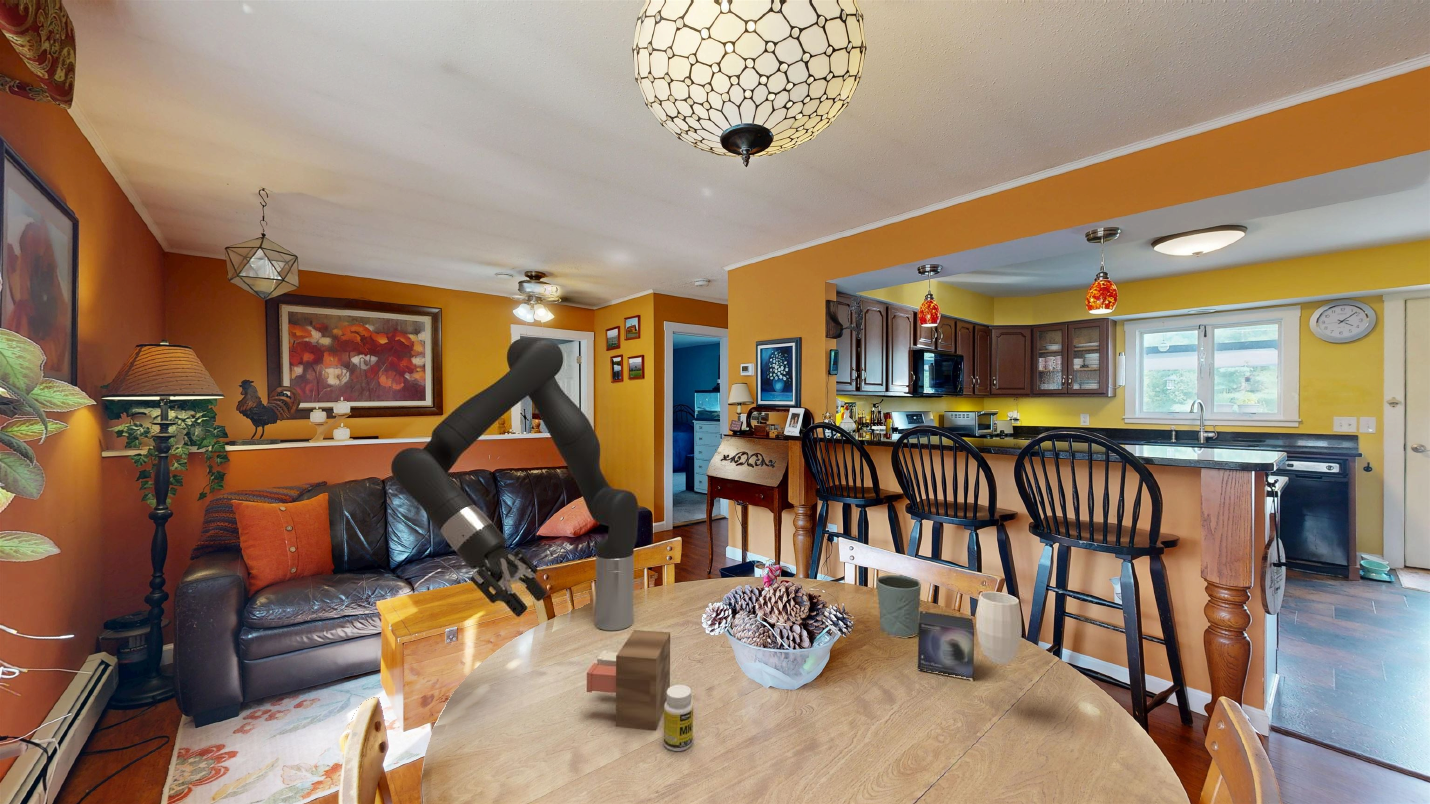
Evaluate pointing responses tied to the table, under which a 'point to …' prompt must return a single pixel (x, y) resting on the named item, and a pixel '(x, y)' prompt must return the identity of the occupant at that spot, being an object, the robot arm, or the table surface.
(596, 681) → the red button
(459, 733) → the table surface
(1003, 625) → the cup
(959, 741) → the table surface
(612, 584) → the robot arm
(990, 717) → the table surface
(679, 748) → the supplement bottle
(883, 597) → the green embossed pot
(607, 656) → the white block
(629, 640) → the walnut box
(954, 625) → the small box
